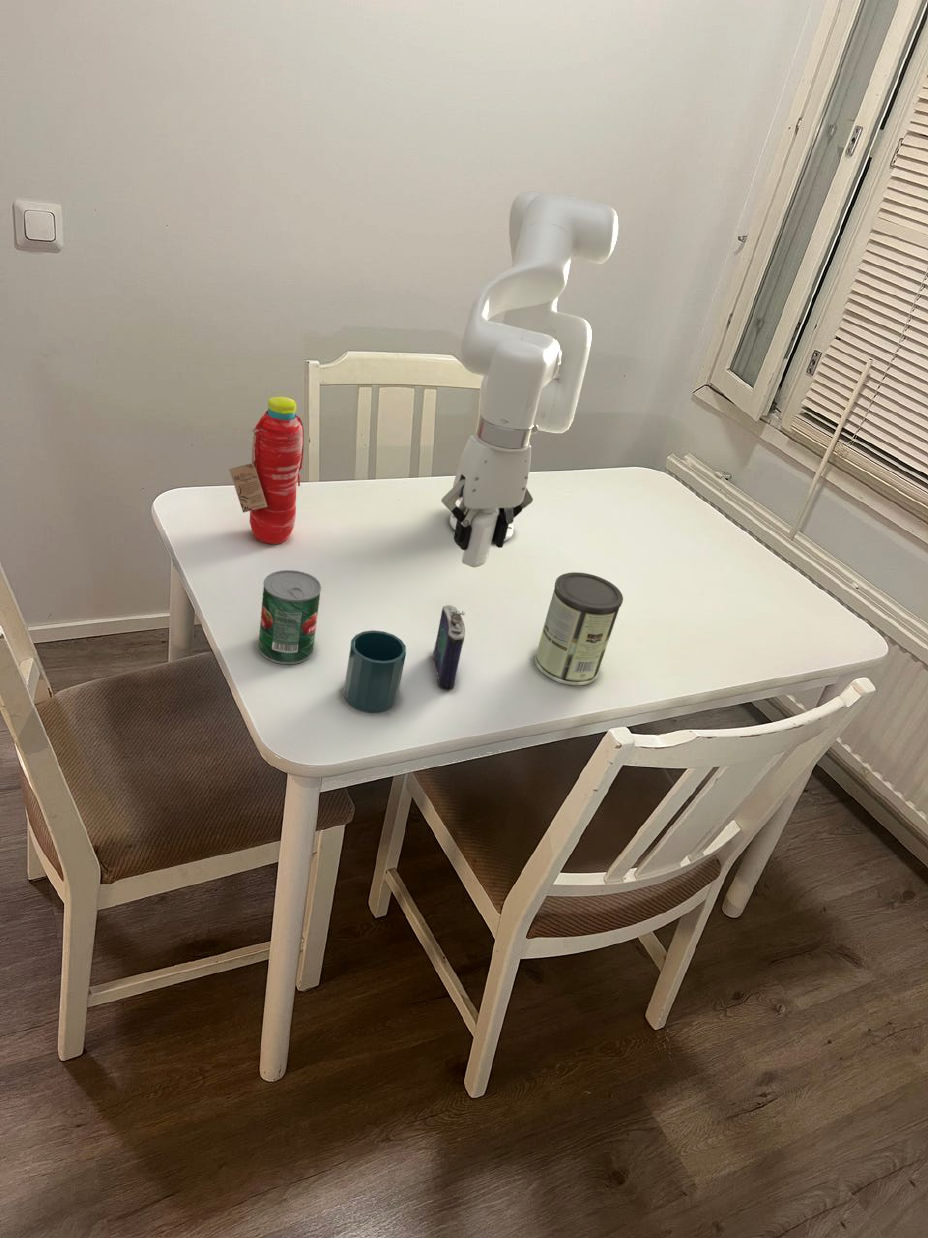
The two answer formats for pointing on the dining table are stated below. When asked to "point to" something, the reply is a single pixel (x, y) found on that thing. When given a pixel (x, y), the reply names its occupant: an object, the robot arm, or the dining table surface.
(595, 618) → the coffee can
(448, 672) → the flask
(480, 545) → the eye dropper bottle
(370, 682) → the teal cup
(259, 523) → the water bottle
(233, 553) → the dining table surface
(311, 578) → the canned tomato
